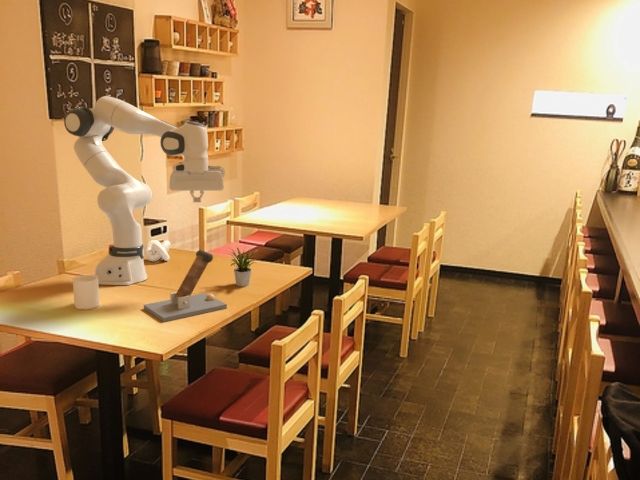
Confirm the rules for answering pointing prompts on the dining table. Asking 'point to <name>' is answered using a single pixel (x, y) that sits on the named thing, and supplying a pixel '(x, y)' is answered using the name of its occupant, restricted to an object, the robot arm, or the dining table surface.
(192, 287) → the lever
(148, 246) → the white knot sculpture
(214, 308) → the press base
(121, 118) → the robot arm
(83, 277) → the mug
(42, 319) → the dining table surface
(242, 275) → the house plant
